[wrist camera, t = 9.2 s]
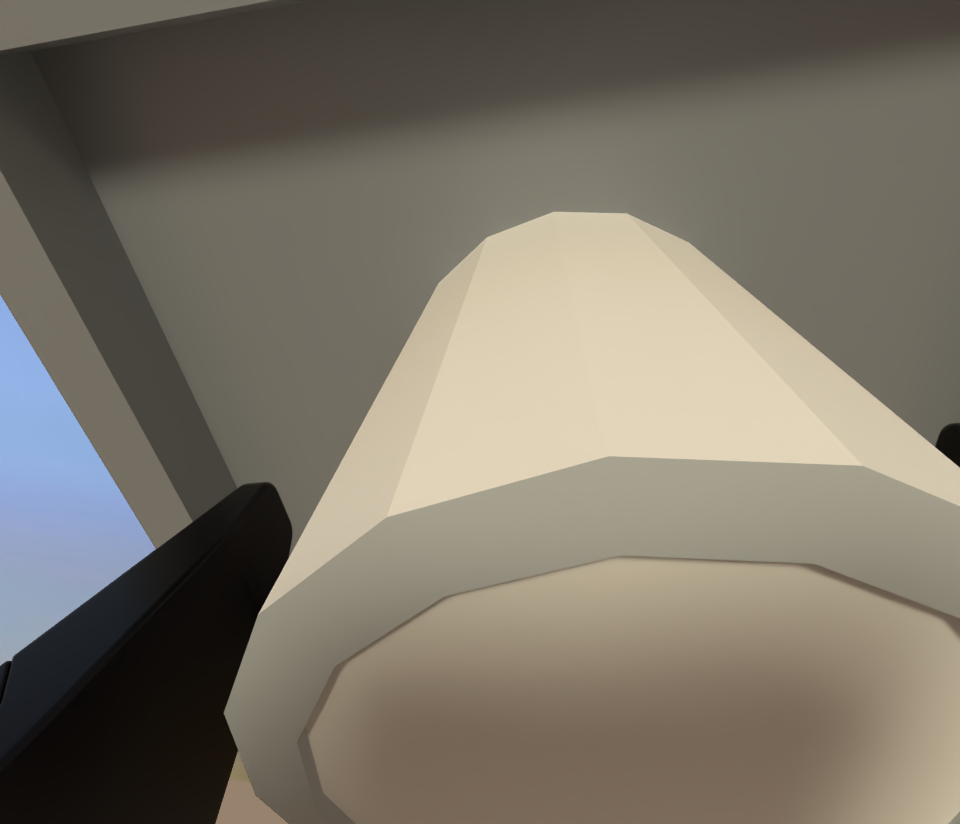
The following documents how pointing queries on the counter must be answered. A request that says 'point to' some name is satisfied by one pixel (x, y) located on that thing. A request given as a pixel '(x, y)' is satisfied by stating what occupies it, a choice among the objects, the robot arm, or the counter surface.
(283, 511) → the robot arm
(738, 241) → the tray
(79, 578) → the counter surface
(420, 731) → the cream cup
